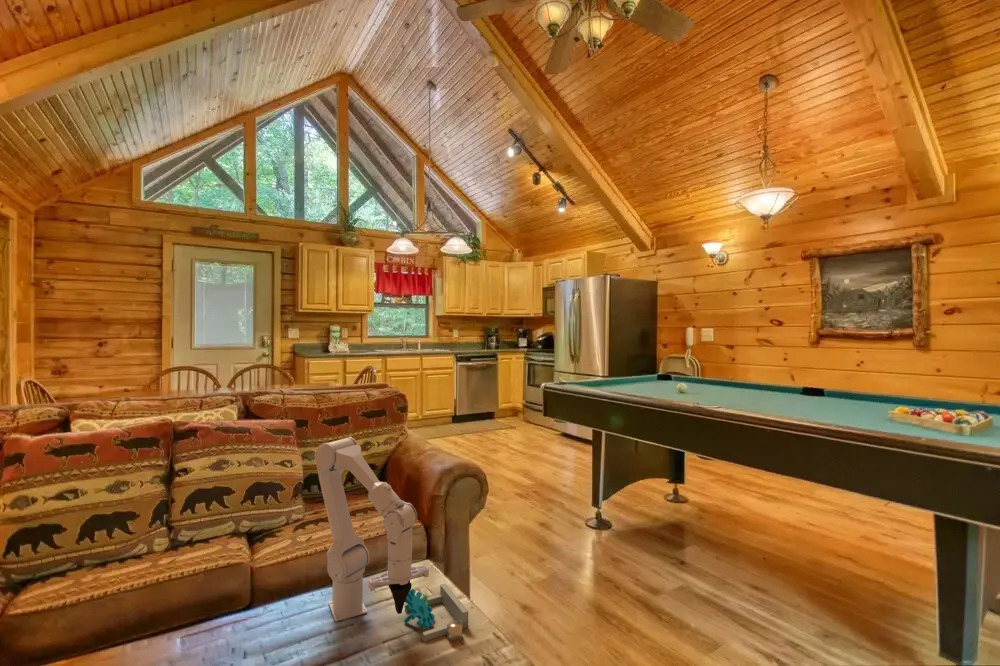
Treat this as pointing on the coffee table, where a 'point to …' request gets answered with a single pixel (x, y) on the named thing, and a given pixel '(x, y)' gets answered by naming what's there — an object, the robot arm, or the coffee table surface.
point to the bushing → (454, 631)
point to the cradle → (452, 605)
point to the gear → (419, 609)
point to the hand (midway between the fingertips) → (398, 611)
